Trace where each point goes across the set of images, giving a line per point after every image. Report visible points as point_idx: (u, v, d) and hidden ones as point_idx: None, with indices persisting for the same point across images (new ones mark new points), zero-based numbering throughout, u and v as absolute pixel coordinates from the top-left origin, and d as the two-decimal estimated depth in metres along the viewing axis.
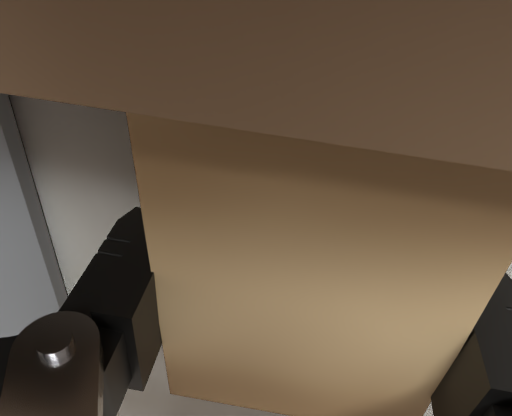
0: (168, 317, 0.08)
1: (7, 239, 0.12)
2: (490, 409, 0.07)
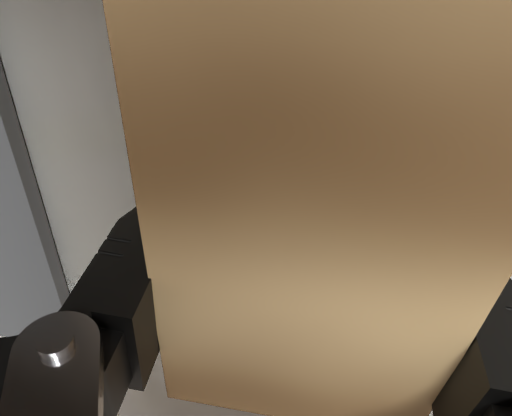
0: (165, 319, 0.08)
1: None
2: (489, 409, 0.07)
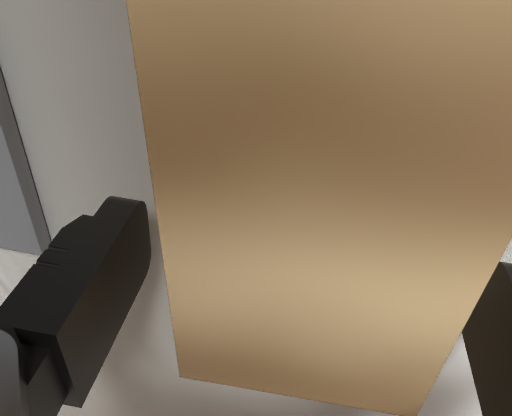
0: (178, 298, 0.09)
1: None
2: None
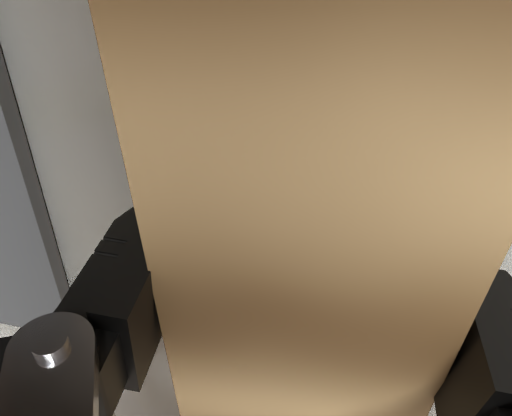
0: None
1: None
2: (494, 412, 0.07)
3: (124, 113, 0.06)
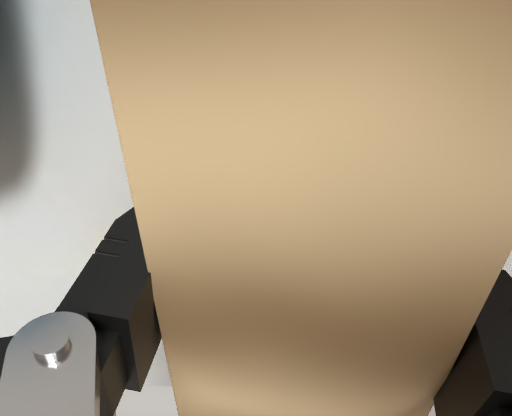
0: None
1: None
2: (493, 411, 0.07)
3: (125, 114, 0.06)
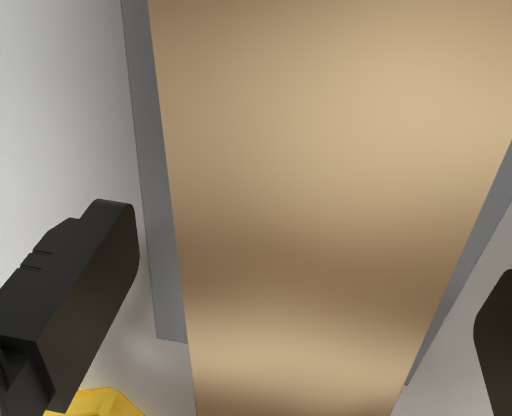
0: (198, 364, 0.12)
1: None
2: None
3: (165, 69, 0.07)
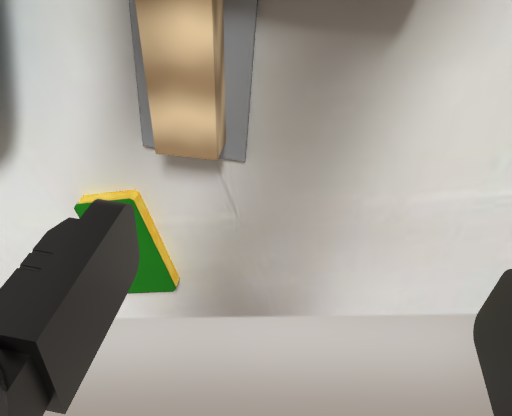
0: (154, 123, 0.36)
1: (240, 50, 0.35)
2: None
3: (140, 21, 0.31)
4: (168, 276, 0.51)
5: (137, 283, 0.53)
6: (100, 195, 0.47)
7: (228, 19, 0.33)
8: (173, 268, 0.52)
